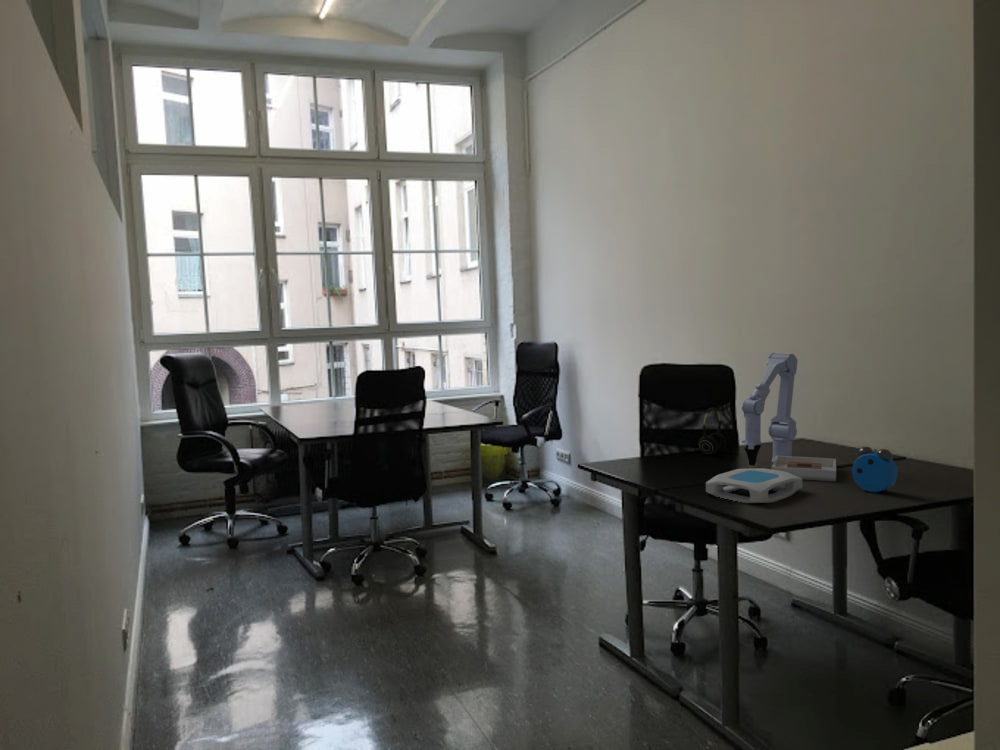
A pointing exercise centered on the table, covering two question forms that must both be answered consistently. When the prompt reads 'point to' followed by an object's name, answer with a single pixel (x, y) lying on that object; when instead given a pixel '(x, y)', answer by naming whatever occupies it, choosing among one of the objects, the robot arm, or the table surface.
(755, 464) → the peg
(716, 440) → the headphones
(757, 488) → the white and blue housing
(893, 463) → the alarm clock
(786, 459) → the tray
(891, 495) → the table surface
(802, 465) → the bore plate
